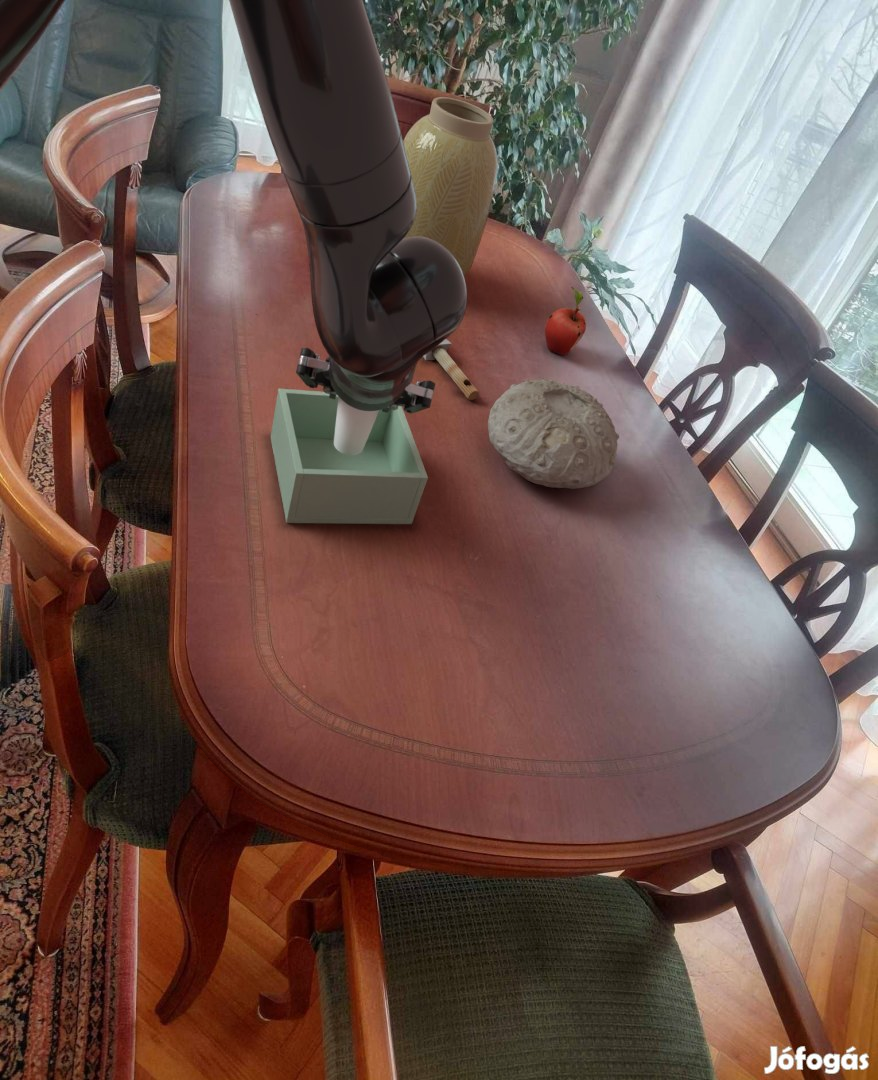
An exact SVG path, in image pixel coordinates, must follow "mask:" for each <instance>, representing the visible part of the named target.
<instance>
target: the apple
mask: <svg viewBox="0 0 878 1080" xmlns="http://www.w3.org/2000/svg"><path fill="white" fill-rule="evenodd" d="M570 288H571V289H572V290H573V291H574V300H575V304H576V307H575V309H573V308H570V307H563V308H559V309H557V310H555V311H553V312H552V314H550V316H549V318H548V319H547V321H546V324H545V327H544V328H545V329H544V336H545V337H544V338H545V343H546V348H547V349H548V350H549V351H550V352H553V353H555V354H558V355H561V356H564V355H567V354H569V353H570V352H571V351H572V350H573V349H574V348H575V347H576V346H577V344H578V343H579V341H580V340H581V339H582V338H583V336H584V334H585V333H586V329H587V323H586V322H587V321H586V317H585V316H584V314H582V313H581V312H580V310H581V306H580V305H579V304H580V303H581V302H582V301H583V299H584V296H583V294H582V292H581V291H578V290H577V289H576V288H575V287H573V286H570Z"/></svg>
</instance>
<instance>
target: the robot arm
mask: <svg viewBox="0 0 878 1080" xmlns="http://www.w3.org/2000/svg"><path fill="white" fill-rule="evenodd" d="M65 2H66V0H0V92H1V91H2V89H3V88H4V87H5V85H6V84H7V83H8V82H9V80H10V79H11V78H12V77H13V75H14V74H15V73H16V71H17V70H18V69H19V68H20V66H21V65H22V63H24V61H25V59H26V58H27V57H28V55H29V54H30V53H31V51H32V50H33V48H35V46H36V45H37V43H38V42H39V41H40V40H41V38H42V37H43V35H44V33H45V32H46V30H48V27H49V26H50V25H51V23H52V22H53V21H54V19H55V18H56V16H57V14H58V12H59V11H60V9H61V8H62V6H63V5H64V4H65ZM228 2H229V5H230V8H231V9H230V10H231V12H232V15H233V20H234V22H235V26H236V31H237V33H238V36H239V39H240V43H241V47H242V51H243V54H244V58H245V61H246V66H247V69H248V71H249V76H250V79H251V82H252V86H253V89H254V93H255V96H256V99H257V102H258V105H259V106H258V107H259V109H260V112H261V115H262V118H263V121H264V125H265V127H266V130H267V134H268V136H269V140H270V142H271V144H272V147H273V150H274V153H275V156H276V159H277V161H278V164H279V167H280V169H281V172H282V175H283V177H284V179H285V182H286V185H287V187H288V190H289V192H290V195H291V197H292V199H293V203H294V205H295V207H296V209H297V212H298V214H299V217H300V220H301V222H302V226H303V231H304V234H305V242H306V247H307V254H308V263H309V274H310V276H309V277H310V293H311V295H310V296H311V307H312V311H313V317H314V323H315V327H316V331H317V334H318V337H319V339H320V342H321V344H322V346H323V348H324V350H325V351H326V353H327V355H328V357H326V359H325V360H324V359H320V357H321V356H320V354H317V353H316V352H315V351H314V350H312V349H311V348H308V347H301V348H300V349H301V350H300V353H299V358H298V362H297V366H296V370H295V374H296V375H297V376H298V377H299V378H300V380H301V381H302V382H303V383H304V384H305V385H306V386H307V387H308V388H309V389H318V386H322V387H323V388H322V392H325V393H327V394H330V395H329V398H331V399H336V395H338V396H339V397H340V399H342V400H343V401H344V402H345V403H346V404H348V405H349V406H351V407H353V408H356V409H359V410H363V411H377V410H381V409H382V412H386V413H388V412H389V410H397V409H398V406H402V408H403V411H404V412H405V413H407V414H415V413H418V412H421V411H424V410H427V409H430V408H431V406H432V401H433V396H434V393H435V388H436V383H435V382H434V381H432V380H430V379H429V380H422V381H418V380H417V381H415V384H414V383H412V381H413V379H414V374H415V372H416V369H417V365H418V363H419V361H420V360H421V359H422V358H424V357H423V356H424V355H425V354H427V353H428V352H430V351H431V350H432V349H434V348H435V347H436V346H438V345H439V344H440V343H441V342H443V341H444V340H445V339H448V338H449V337H450V336H452V334H453V333H454V332H456V330H458V328H459V327H460V325H461V324H462V322H463V319H464V318H465V314H466V310H467V306H468V305H467V303H468V289H467V283H466V279H465V277H464V275H463V272H462V270H461V267H460V265H459V264H458V262H457V260H456V259H455V257H454V256H453V255H452V254H451V252H450V251H449V250H448V249H447V248H445V247H444V246H443V245H442V244H440V243H438V242H437V241H435V240H432V239H430V238H427V237H421V236H411V237H406V238H404V237H405V236H406V234H407V233H408V232H409V230H410V229H411V227H412V225H413V223H414V221H415V217H416V211H417V202H416V194H415V189H414V184H413V180H412V176H411V172H410V168H409V164H408V159H407V155H406V151H405V147H404V143H403V141H404V139H403V135H402V131H401V126H400V124H399V119H398V114H397V111H396V108H395V107H396V106H395V104H394V100H393V96H392V93H391V89H390V86H389V82H388V79H387V74H386V71H385V68H384V65H383V62H382V58H381V55H380V52H379V49H378V46H377V43H376V40H375V36H374V33H373V30H372V26H371V24H370V20H369V17H368V14H367V10H366V7H365V4H364V1H363V0H228Z"/></svg>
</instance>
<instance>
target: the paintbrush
mask: <svg viewBox="0 0 878 1080" xmlns="http://www.w3.org/2000/svg"><path fill="white" fill-rule="evenodd" d="M452 344H453V343H452V342H451V341H449V340H448V338H446V339H445V340H444V341H443V342H441V343H440V344H439V345H438V346H436V347H435V348H434V349H432V350H431V351H430V352H428V353H427V354H425V355H424V356H423V357H422V358H423V359H424V361H433V360H434V361H435V360H436V361H437V362H438V363H439V365H440V367H442V368H443V370H444V371H445V372H446V373H447V374H448V376H449V377H450V378H451V379H452V381H453V382H454V383H455V384H456V386H457V387H458V389H459V390H460V391H461V392H462V393H463V395H464V396H465V397H466V398H467V400H468V401H474V400H476V399H477V398H478V396H479V395H480V392H479V390H478V389H477V388H476V386H475V384H473V383H472V382H471V380H469V378H468V376H466V374H465V373H464V371H463V370H462V369H461V368H460V367H459V366H458V364H457V363H456V362H455V361H454V359H453V358H452V357H451V356H450V354H449V353H448V352H447V350H448V349H449V347H451V345H452Z"/></svg>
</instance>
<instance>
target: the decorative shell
mask: <svg viewBox="0 0 878 1080" xmlns="http://www.w3.org/2000/svg"><path fill="white" fill-rule="evenodd" d="M509 387H510V388H508V389H507V390H505V391H504V393H502V394H501V395H500V397H499V398H498V399H496V400H495V402H494V404H493V405H492V407H491V408H490V410H489V416H488V420H487V429H488V438H489V442H490V444H491V445H492V446H493V447H494V449H495V450H496V451H497V452H498V454H499V455H500V457H501V458H502V459H503V460H504V462H505V464H506V465H507V467H508V468H509V469H510V470H511V471H512V472H514V473H516V474H518V475H520V477H522V478H523V479H525V480H527V481H528V482H530V483H533V484H536V485H540V486H544V487H548V488H552V489H553V488H558V489H561V488H564V489H571V490H576V489H581V488H588V487H591V486H594V485H597V484H598V483H599V482H601V481H603V480H604V479H605V478H607V477H608V476H609V475H610V474H611V473H612V469H613V467H614V465H615V461H616V459H617V451H618V445H619V444H618V440H619V439H620V434H618V433H617V432H616V427H615V425H614V423H613V420H612V418H611V417H610V415H609V413H608V412H607V411H606V409H605V408H604V405H603V403H600V402H599V400H598V399H597V397H594V396H593V395H592V394H590V393H589V392H587V391H585V390H584V389H581V388H580V386H579V385H575V386H574V385H572V384H566V383H565V382H559V381H557V380H553V379H545V378H542V379H533V380H529V379H526V380H525V381H522V382H520V383H519V384H515V383H512V384H511V385H510V386H509Z"/></svg>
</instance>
